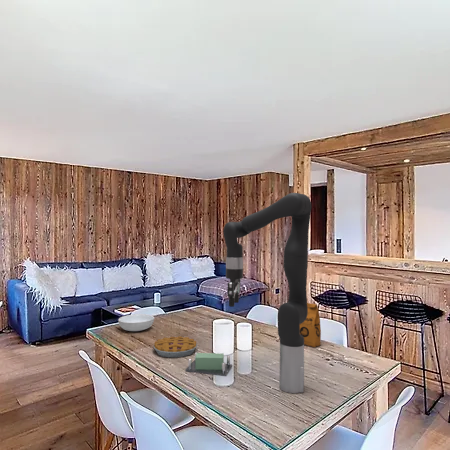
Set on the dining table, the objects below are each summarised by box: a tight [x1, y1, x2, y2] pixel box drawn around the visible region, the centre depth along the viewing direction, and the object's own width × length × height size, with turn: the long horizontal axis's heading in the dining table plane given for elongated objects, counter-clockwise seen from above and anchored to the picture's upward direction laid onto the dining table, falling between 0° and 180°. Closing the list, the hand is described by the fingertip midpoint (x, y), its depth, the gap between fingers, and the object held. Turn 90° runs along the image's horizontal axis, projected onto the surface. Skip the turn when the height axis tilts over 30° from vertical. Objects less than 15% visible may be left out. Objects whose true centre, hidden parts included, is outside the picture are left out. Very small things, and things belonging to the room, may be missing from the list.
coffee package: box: [300, 302, 322, 348], centre depth 190 cm, size 10×12×22 cm
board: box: [194, 352, 225, 370], centre depth 155 cm, size 12×6×5 cm, turn 89°
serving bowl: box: [118, 313, 155, 332], centre depth 214 cm, size 21×21×7 cm
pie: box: [153, 335, 198, 358], centre depth 177 cm, size 22×22×5 cm
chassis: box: [185, 351, 233, 377], centre depth 155 cm, size 18×11×5 cm, turn 75°
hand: (234, 304), depth 156 cm, fingers open, 8 cm apart
